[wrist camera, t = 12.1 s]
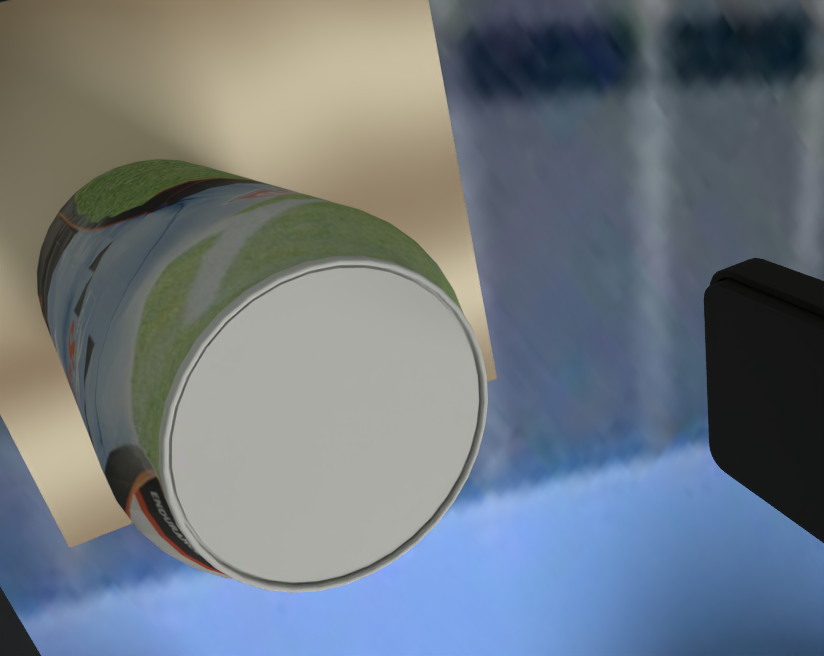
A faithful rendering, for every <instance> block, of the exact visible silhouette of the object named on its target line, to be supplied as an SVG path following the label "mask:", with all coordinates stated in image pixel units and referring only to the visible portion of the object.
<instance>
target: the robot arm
mask: <svg viewBox="0 0 824 656" xmlns="http://www.w3.org/2000/svg"><path fill="white" fill-rule="evenodd" d="M704 316H705V343H706V370H707V397H708V424H709V446H710V451H711V454H712V457H713V459H714V460H715V462H716V464H717V465H718V466H719V467H720V468H721V469H722V470H723V471H724V472H725V473H727V474H728V475H729V476H731V477H732V478H734V479H735V480H736V481H738V482H739V483H741V484H742V485H743V486H745V487H746V488H748V489H749V490H750V491H752V492H753V493H755V494H756V495H757V496H759V497H760V498H762V499H763V500H764V501H766V502H767V503H769V504H770V505H771V506H773V507H774V508H776V509H777V510H778V511H780V512H781V513H783V514H784V515H785V516H787V517H788V518H790V519H791V520H792V521H794V522H795V523H796V524H798V525H799V526H801V527H802V528H803V529H805V530H806V531H808V532H809V533H810V534H812V535H813V536H815V537H816V538H817V539H819V540H820V541H822V542H823V543H824V281H822V280H819V279H816V278H814V277H811V276H808V275H805V274H802V273H800V272H797V271H794V270H791V269H789V268H786V267H783V266H780V265H777V264H775V263H772V262H769V261H766V260H764V259H759V258H753V259H749V260H746V261H744V262H741V263H738V264H736V265H733V266H731V267H728V268H725V269H723V270H720V271H718V272H717V273H716V274H714V275H713V277H712V280H711V282H710V286H709V287H708V288H707V289H706V291H705V293H704ZM0 656H41V655H40V653H39V651H38V650H37V648H36V646H35V645H34V643H33V641H32V640H31V638H30V636H29V635H28V633H27V631H26V629H25V628H24V626H23V624H22V623H21V621H20V619H19V618H18V616H17V614H16V613H15V611H14V609H13V608H12V606H11V604H10V602H9V601H8V599H7V597H6V596H5V594H4V592H3V591H2V589H1V587H0Z"/></svg>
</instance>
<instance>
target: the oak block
mask: <svg viewBox="0 0 824 656" xmlns="http://www.w3.org/2000/svg"><path fill="white" fill-rule="evenodd" d="M154 159H166V160H181V161H186V162H190V163H194V164H198V165H202V166H206V167H210V168H213V169H217V170H220V171H224V172H227V173H231V174H235V175H238V176H242V177H245V178H249V179H253V180H256V181H260V182H263V183H267V184H271V185H274V186H278V187H281V188H285V189H288V190H292V191H296V192H299V193H303V194H306V195H310V196H314V197H317V198H321V199H324V200H328V201H331V202H335V203H339V204H342V205H346V206H349V207H353V208H357V209H360V210H362V211H365V212H367V213H369V214H371V215H373V216H376V217H378V218H380V219H382V220H385V221H387V222H389V223H391V224H392V225H394V226H395V227H396V228H398V229H399V230H401V231H402V232H403V233H405V234H406V235H408V236H409V237H410V238H412V239H413V240H415V241H416V242H417V243H418V244H419V245H420V246H421V247H422V248H423V249H424V250H425V252H426V253H427V254H428V255H429V256H430V257H431V258H432V259H433V260H434V261H435V262H436V263H437V264H438V266H439V267H440V269H441V271H442V272H443V274H444V275H445V277H446V278H447V280H448V282H449V283H450V285H451V286H452V288H453V289H454V291H455V294H456V296H457V299H458V301H459V304H460V306H461V309H462V311H463V313H464V316H465V317H466V319H467V320H468V322H469V323H470V325H471V327H472V328H473V331H474V333H475V336H476V338H477V341H478V343H479V346H480V348H481V351H482V356H483V361H484V365H485V370H486V375H487V382H489V381H492V380H494V379H497V376H496V371H495V365H494V360H493V354H492V349H491V343H490V338H489V332H488V327H487V321H486V316H485V310H484V305H483V299H482V294H481V288H480V282H479V277H478V271H477V266H476V260H475V255H474V249H473V244H472V238H471V233H470V227H469V222H468V216H467V211H466V205H465V200H464V194H463V189H462V183H461V178H460V172H459V167H458V161H457V156H456V150H455V145H454V139H453V134H452V128H451V123H450V117H449V112H448V106H447V100H446V95H445V89H444V84H443V78H442V73H441V67H440V62H439V56H438V51H437V45H436V40H435V34H434V29H433V23H432V18H431V12H430V7H429V1H428V0H9V1H4V2H0V415H1V417H2V419H3V421H4V423H5V424H6V426H7V428H8V430H9V432H10V434H11V436H12V438H13V440H14V442H15V444H16V446H17V448H18V449H19V451H20V453H21V455H22V457H23V459H24V461H25V463H26V465H27V467H28V469H29V471H30V473H31V475H32V476H33V478H34V480H35V482H36V484H37V486H38V488H39V490H40V492H41V494H42V496H43V498H44V500H45V502H46V503H47V505H48V507H49V509H50V511H51V513H52V515H53V517H54V519H55V521H56V523H57V525H58V527H59V528H60V530H61V532H62V534H63V536H64V538H65V540H66V542H67V544H68V546H69V548H71V547H73V546H76V545H78V544H81V543H83V542H86V541H88V540H91V539H93V538H96V537H98V536H101V535H104V534H106V533H109V532H111V531H114V530H116V529H119V528H121V527H124V526H126V525H129V524H131V523H133V522H132V521H131V520H130V518H129V517H128V516H127V514H126V513H125V512H124V511H123V509H122V508H121V507H120V505H119V504H118V503H117V501H116V499H115V497H114V495H113V493H112V490H111V488H110V486H109V484H108V482H107V480H106V477H105V475H104V473H103V471H102V469H101V466H100V463H99V461H98V458H97V456H96V453H95V450H94V448H93V445H92V443H91V440H90V437H89V435H88V432H87V429H86V427H85V424H84V422H83V419H82V416H81V414H80V411H79V409H78V406H77V403H76V401H75V398H74V396H73V393H72V390H71V388H70V385H69V383H68V380H67V377H66V375H65V372H64V370H63V367H62V364H61V362H60V359H59V357H58V354H57V351H56V349H55V346H54V344H53V341H52V338H51V336H50V333H49V331H48V328H47V325H46V323H45V320H44V318H43V315H42V311H41V306H40V302H39V298H38V291H37V268H38V262H39V256H40V250H41V247H42V244H43V242H44V239H45V236H46V234H47V231H48V228H49V227H50V225H51V224H52V222H53V220H54V219H55V217H56V215H57V214H58V212H59V210H60V209H61V208H62V207H63V206H64V205H65V204H66V202H67V201H68V200H69V199H70V198H71V197H72V196H73V195H74V194H75V192H77V191H78V190H79V189H81V188H82V187H83V186H85V185H86V184H87V183H89V182H90V181H91V180H93V179H94V178H96V177H98V176H100V175H102V174H104V173H106V172H108V171H110V170H112V169H114V168H117V167H120V166H123V165H127V164H130V163H133V162H137V161H146V160H154Z"/></svg>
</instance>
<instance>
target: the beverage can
mask: <svg viewBox="0 0 824 656" xmlns="http://www.w3.org/2000/svg"><path fill="white" fill-rule="evenodd" d="M37 291H38V298H39V302H40V306H41V311H42V315H43V318H44V320H45V323H46V325H47V328H48V331H49V333H50V336H51V338H52V341H53V344H54V346H55V349H56V351H57V354H58V357H59V359H60V362H61V364H62V367H63V370H64V372H65V375H66V377H67V380H68V383H69V385H70V388H71V390H72V393H73V396H74V398H75V401H76V403H77V406H78V409H79V411H80V414H81V416H82V419H83V422H84V424H85V427H86V429H87V432H88V435H89V437H90V440H91V443H92V445H93V448H94V450H95V453H96V456H97V458H98V461H99V463H100V466H101V469H102V471H103V473H104V475H105V477H106V480H107V482H108V484H109V486H110V488H111V490H112V493H113V495H114V497H115V499H116V501H117V503H118V504H119V505H120V507H121V508H122V509H123V511H124V512H125V513H126V514H127V516H128V517H129V518H130V520H131V521H132V522H133V524H134V525H135V526H136V528H137V529H138V530H139V531H140V532H141V533H143V534H144V535H145V536H146V537H147V538H148V539H150V540H151V541H152V542H153V543H154V544H155V545H157V546H158V547H159V548H160V549H161V550H162V551H164V552H165V553H167V554H169V555H171V556H173V557H174V558H176V559H178V560H180V561H182V562H184V563H185V564H187V565H189V566H191V567H193V568H195V569H199V570H202V571H205V572H208V573H211V574H215V575H218V576H221V577H224V578H230V579H235V580H237V581H239V582H242V583H245V584H248V585H252V586H255V587H258V588H261V589H264V590H272V591H281V592H290V593H294V592H309V591H320V590H325V589H329V588H333V587H337V586H342V585H346V584H348V583H351V582H353V581H356V580H358V579H361V578H363V577H366V576H368V575H371V574H373V573H374V572H376V571H378V570H380V569H381V568H383V567H385V566H387V565H388V564H390V563H392V562H394V561H395V560H397V559H398V558H399V557H400V556H402V555H403V554H404V553H406V552H407V551H408V550H410V549H411V548H412V547H413V546H415V545H416V544H417V543H418V542H419V541H420V540H421V539H422V538H423V537H424V536H425V535H426V534H427V533H428V532H429V531H430V530H431V529H432V528H433V527H434V526H435V525H436V524H437V523H438V522H439V521H440V519H441V518H442V517H443V515H444V514H445V513H446V511H447V510H448V509H449V507H450V506H451V505H452V503H453V502H454V501H455V499H456V497H457V495H458V494H459V492H460V490H461V489H462V487H463V485H464V483H465V482H466V480H467V478H468V476H469V474H470V471H471V469H472V466H473V464H474V461H475V459H476V457H477V454H478V451H479V447H480V443H481V440H482V436H483V432H484V428H485V421H486V412H487V403H488V397H487V375H486V370H485V365H484V361H483V356H482V351H481V348H480V346H479V343H478V341H477V338H476V336H475V333H474V331H473V328H472V327H471V325H470V323H469V322H468V320H467V319H466V317H465V316H464V313H463V311H462V309H461V306H460V304H459V301H458V299H457V296H456V294H455V291H454V289H453V288H452V286H451V285H450V283H449V282H448V280H447V278H446V277H445V275H444V274H443V272H442V271H441V269H440V267H439V266H438V264H437V263H436V262H435V261H434V260H433V259H432V258H431V257H430V256H429V255H428V254H427V253H426V252H425V250H424V249H423V248H422V247H421V246H420V245H419V244H418V243H417V242H416V241H415V240H413V239H412V238H410V237H409V236H408V235H406V234H405V233H403V232H402V231H401V230H399V229H398V228H396V227H395V226H394V225H392V224H391V223H389V222H387V221H385V220H382V219H380V218H378V217H376V216H373V215H371V214H369V213H367V212H365V211H362V210H360V209H357V208H353V207H349V206H346V205H342V204H339V203H335V202H331V201H328V200H324V199H321V198H317V197H314V196H310V195H306V194H303V193H299V192H296V191H292V190H288V189H285V188H281V187H278V186H274V185H271V184H267V183H263V182H260V181H256V180H253V179H249V178H245V177H242V176H238V175H235V174H231V173H227V172H224V171H220V170H217V169H213V168H210V167H206V166H202V165H198V164H194V163H190V162H186V161H181V160H166V159H154V160H146V161H137V162H133V163H130V164H127V165H123V166H120V167H117V168H114V169H112V170H110V171H108V172H106V173H104V174H102V175H100V176H98V177H96V178H94V179H93V180H91V181H90V182H89V183H87V184H86V185H85V186H83V187H82V188H81V189H79V190H78V191H77V192H75V194H74V195H73V196H72V197H71V198H70V199H69V200H68V201H67V202H66V204H65V205H64V206H63V207H62V208H61V209H60V210H59V212H58V214H57V215H56V217H55V219H54V220H53V222H52V224H51V225H50V227H49V228H48V231H47V234H46V236H45V239H44V242H43V244H42V247H41V250H40V256H39V262H38V268H37Z"/></svg>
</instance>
